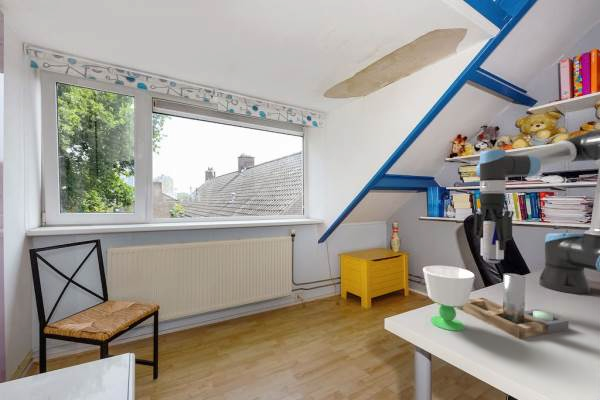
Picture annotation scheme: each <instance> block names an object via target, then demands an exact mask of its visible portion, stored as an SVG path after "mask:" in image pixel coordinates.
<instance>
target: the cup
mask: <svg viewBox="0 0 600 400" xmlns="http://www.w3.org/2000/svg"><path fill="white" fill-rule="evenodd" d="M422 271H423V276H424V282H425V286H426V290H427V296H428V297H429V299H430V300H431V301H433V302H434V303H435V304H437V305H440V306H439V308H438V313H439V315H435V316H432V317H431V318H430V322H431V323H432V325H434V326H435V327H438V328H440V329H443V330H447V331H451V332H459V331H463V330H464V329H465V328H466V327H465V324H464V323H463V322H462V321H460V320H458V319H456V317H457V312H456V309H455V308H457V307H461V306H464V305H465V304H466V303H467V302H468V301H469V299H470V296H471V293H472V288H473V286H474V281H475V276H476V275H475V274H474V273H473V272H471V271H470V270H469V269H464V268H461V267H456V266H450V265H449V266H448V265H428V266H424V267H423V268H422Z"/></svg>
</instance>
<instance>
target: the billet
mask: <svg viewBox="0 0 600 400" xmlns="http://www.w3.org/2000/svg"><path fill="white" fill-rule="evenodd" d="M502 276H503V277H502V278H503V279H502V280H503V281H502V286H503V288H502V289H503V290H502V293H503V294H502V306H503V319H506V320H508V321H510V322H512V323H515V324H523V323H525V311H526V309H525V308H526V307H525V306H526V303H525V302H526V276H524V275H520V274H517V273H511V272H510V273H503V274H502Z"/></svg>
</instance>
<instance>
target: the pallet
mask: <svg viewBox="0 0 600 400" xmlns="http://www.w3.org/2000/svg"><path fill="white" fill-rule="evenodd" d="M456 308H457V309H458V310H461V311H463V312H465V313H467V314H469V316H470V315H471V316H472V317H474V318H477V319H479V320H480V321H483V322H485V323H487V324H489V325H491V326H493V327H495V328H497V329H499V330H501V331H503V332H505V333H507V334H509V335H511V336H512V337H515V338H517V339H519V340H520V339H524V338H529V337H530V338H531V337H535V336H540V335H547V334H550V333H549V324H547V323H544V322H542V321H539V320H537V319H534V318H532V317H529V316H527V315H525V323H523V324H515V323H512V322H510V321H508V320H506V319H503V304H499V303H497V302H494V301H492V300H489V299H487V298H484V297H477V298H469V301H468V302H467V303H466V304H465V305H464V306H461V307H456Z"/></svg>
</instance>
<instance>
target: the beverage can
mask: <svg viewBox="0 0 600 400" xmlns="http://www.w3.org/2000/svg"><path fill="white" fill-rule="evenodd" d="M497 239H498V237H497V232H496V224H495V222H493V220H490V221H484V223H483V256H482V258H483V259H482V260H484V261H485V262H486V263H490V264H498V263H500V262H501V260H502V259H496V241H497Z"/></svg>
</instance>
